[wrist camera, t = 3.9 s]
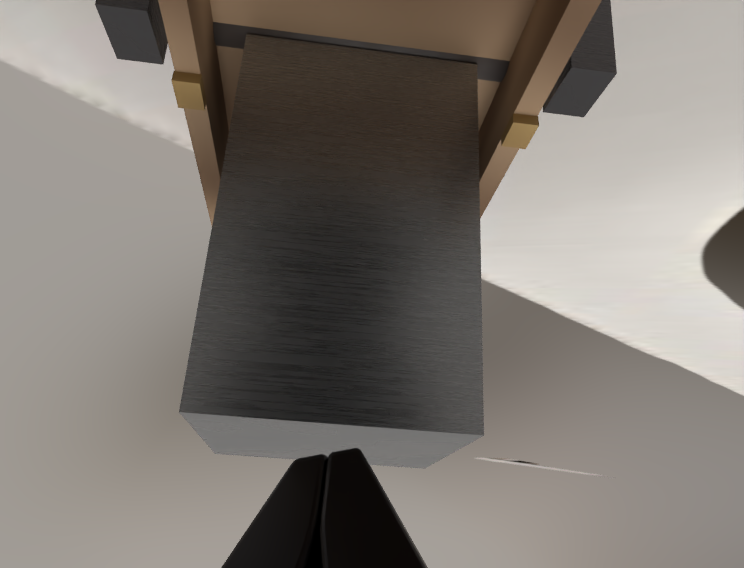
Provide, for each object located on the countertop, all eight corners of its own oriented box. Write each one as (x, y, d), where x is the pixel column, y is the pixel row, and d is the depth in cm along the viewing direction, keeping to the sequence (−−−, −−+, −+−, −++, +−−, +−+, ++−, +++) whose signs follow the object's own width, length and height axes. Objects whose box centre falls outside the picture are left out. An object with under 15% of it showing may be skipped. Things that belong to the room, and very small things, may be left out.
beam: (115, -389, 8) (57, -275, 7) (688, -281, 9) (726, -161, 8) (231, 238, 24) (220, 305, 23) (432, 259, 25) (432, 325, 23)
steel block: (246, 33, 13) (178, 412, 10) (477, 63, 13) (483, 435, 10) (258, 166, 18) (215, 454, 14) (430, 186, 18) (424, 468, 15)
